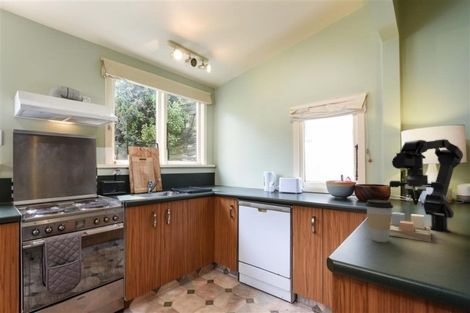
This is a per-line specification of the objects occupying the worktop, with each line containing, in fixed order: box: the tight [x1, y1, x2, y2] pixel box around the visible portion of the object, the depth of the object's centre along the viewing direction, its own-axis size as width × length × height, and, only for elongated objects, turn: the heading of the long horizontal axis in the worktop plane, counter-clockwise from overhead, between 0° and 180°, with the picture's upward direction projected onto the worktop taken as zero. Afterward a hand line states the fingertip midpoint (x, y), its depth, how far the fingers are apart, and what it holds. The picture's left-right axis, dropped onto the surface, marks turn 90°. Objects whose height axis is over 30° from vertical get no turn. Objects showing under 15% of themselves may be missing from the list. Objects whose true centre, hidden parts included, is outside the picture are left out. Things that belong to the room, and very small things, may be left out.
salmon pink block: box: [400, 220, 414, 232], centre depth 99 cm, size 4×4×5 cm
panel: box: [389, 221, 432, 243], centre depth 102 cm, size 16×15×2 cm
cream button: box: [410, 213, 426, 229], centre depth 103 cm, size 4×4×5 cm
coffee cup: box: [364, 199, 394, 243], centre depth 93 cm, size 9×9×15 cm
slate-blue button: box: [391, 211, 406, 226], centre depth 108 cm, size 4×4×5 cm
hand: (415, 204), depth 105 cm, fingers closed
